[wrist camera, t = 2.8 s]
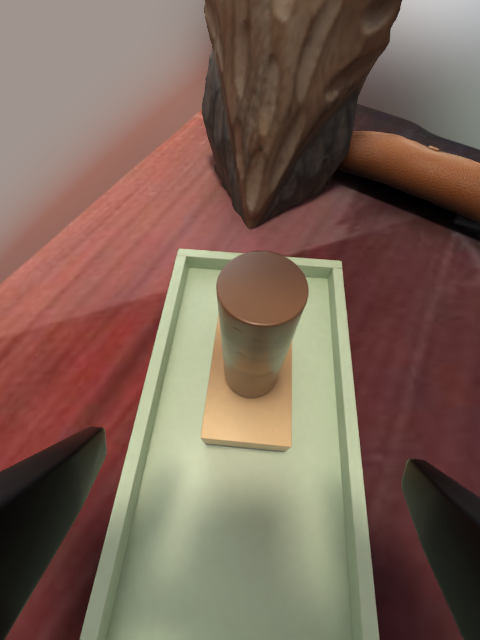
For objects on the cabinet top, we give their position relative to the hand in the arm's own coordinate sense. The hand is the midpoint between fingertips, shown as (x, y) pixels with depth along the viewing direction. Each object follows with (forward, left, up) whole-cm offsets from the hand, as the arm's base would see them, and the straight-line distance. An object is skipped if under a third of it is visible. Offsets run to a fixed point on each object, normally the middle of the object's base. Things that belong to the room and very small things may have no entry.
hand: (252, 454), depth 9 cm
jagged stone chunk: (+21, -18, -11) cm, 30 cm away
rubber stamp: (+4, -3, -11) cm, 12 cm away
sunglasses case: (+12, -31, -11) cm, 35 cm away
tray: (+3, -2, -11) cm, 12 cm away
